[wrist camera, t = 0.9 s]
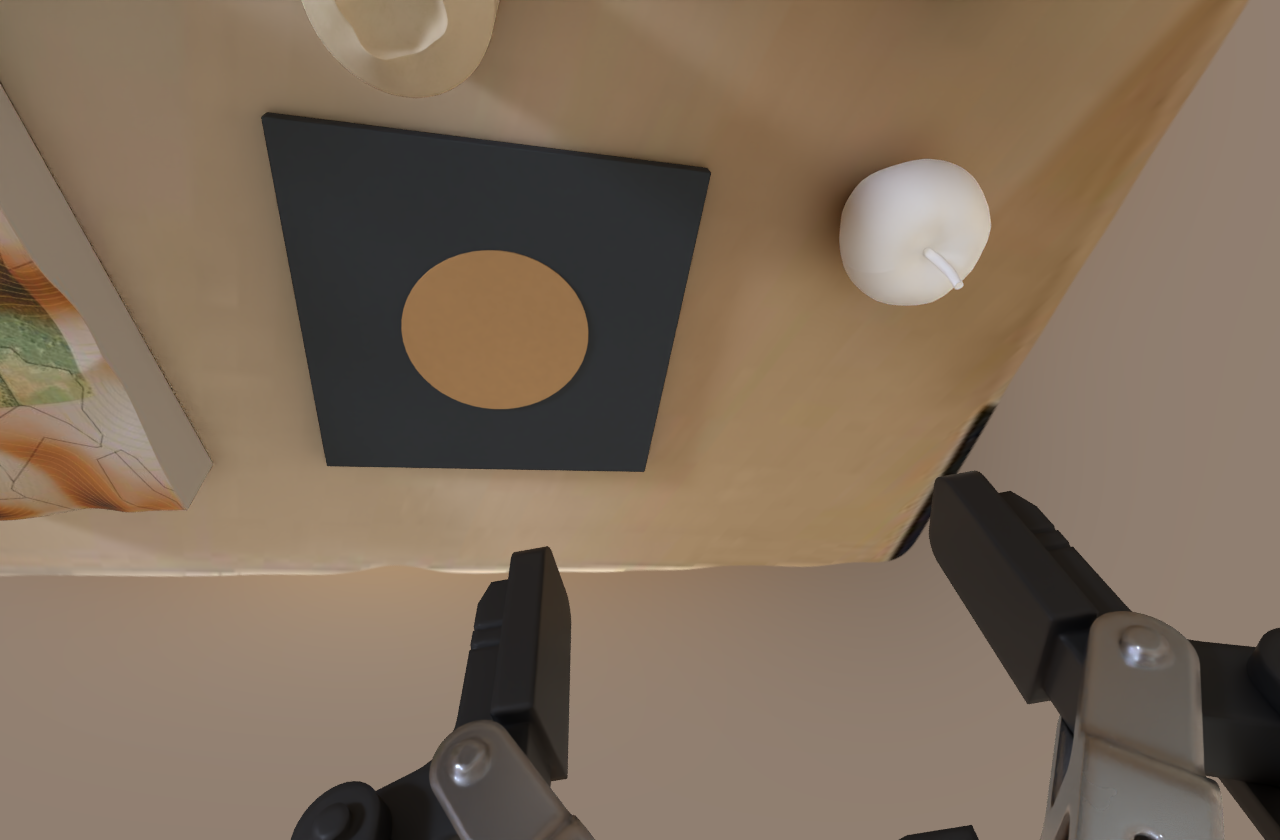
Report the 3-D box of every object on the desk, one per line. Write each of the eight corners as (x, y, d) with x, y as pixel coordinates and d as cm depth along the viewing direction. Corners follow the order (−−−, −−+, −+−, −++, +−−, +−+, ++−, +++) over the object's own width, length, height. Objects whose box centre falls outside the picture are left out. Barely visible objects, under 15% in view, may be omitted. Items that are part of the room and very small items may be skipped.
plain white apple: (827, 287, 37) (888, 362, 31) (806, 172, 32) (873, 233, 26) (944, 241, 36) (1032, 309, 30) (939, 117, 32) (1041, 166, 25)
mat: (329, 457, 39) (326, 467, 38) (266, 111, 27) (259, 116, 26) (642, 464, 43) (645, 473, 43) (707, 167, 31) (712, 173, 31)
